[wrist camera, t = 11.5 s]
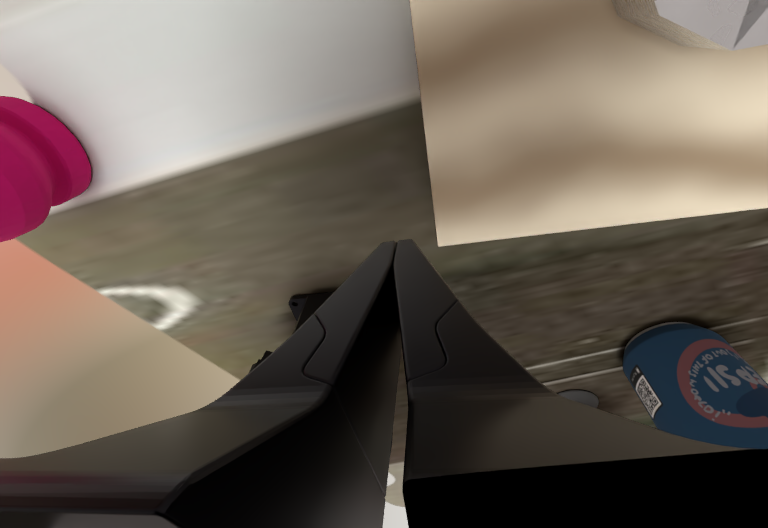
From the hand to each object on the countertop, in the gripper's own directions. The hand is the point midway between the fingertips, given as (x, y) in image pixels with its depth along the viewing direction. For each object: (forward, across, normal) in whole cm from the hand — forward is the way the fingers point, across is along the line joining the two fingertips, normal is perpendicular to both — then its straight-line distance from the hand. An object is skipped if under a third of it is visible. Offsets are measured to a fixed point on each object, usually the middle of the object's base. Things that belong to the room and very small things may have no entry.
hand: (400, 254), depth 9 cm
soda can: (+12, -18, +20) cm, 30 cm away
